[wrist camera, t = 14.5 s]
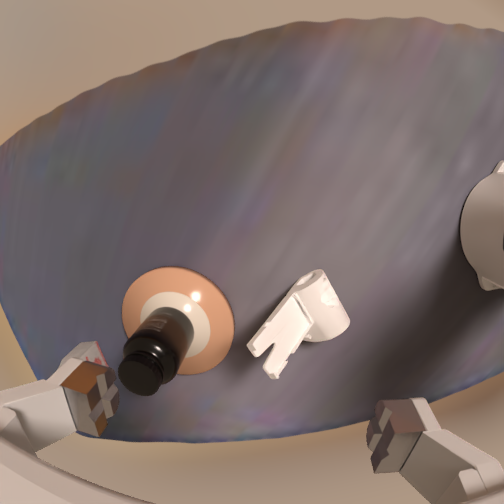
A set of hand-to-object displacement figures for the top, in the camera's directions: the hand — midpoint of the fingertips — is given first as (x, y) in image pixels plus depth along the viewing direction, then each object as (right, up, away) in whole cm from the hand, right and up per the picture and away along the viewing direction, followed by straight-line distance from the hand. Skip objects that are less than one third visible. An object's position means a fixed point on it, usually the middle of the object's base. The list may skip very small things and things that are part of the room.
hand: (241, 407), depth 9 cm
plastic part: (+7, -3, +33) cm, 33 cm away
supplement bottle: (-10, -6, +33) cm, 35 cm away
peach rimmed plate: (-10, -5, +34) cm, 36 cm away
